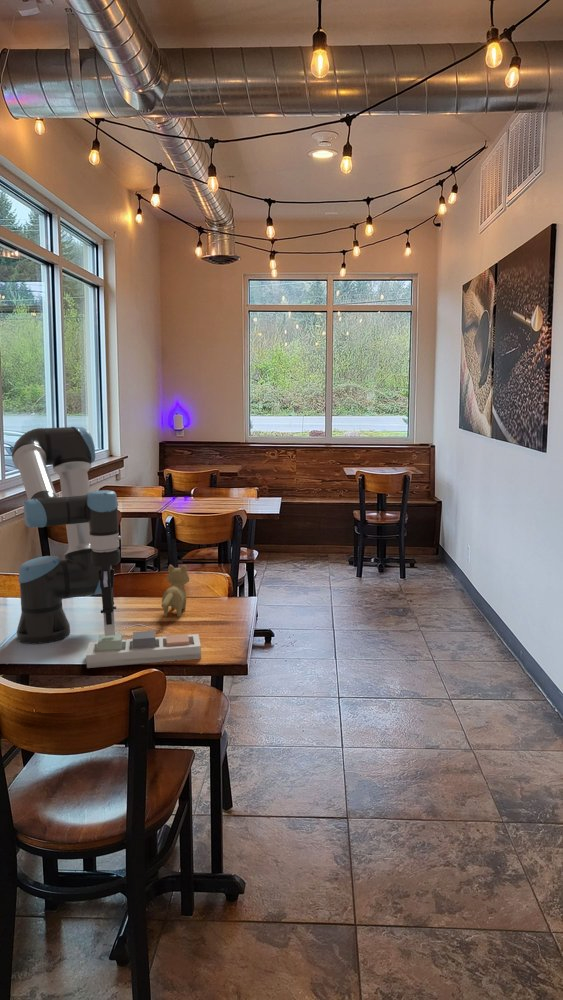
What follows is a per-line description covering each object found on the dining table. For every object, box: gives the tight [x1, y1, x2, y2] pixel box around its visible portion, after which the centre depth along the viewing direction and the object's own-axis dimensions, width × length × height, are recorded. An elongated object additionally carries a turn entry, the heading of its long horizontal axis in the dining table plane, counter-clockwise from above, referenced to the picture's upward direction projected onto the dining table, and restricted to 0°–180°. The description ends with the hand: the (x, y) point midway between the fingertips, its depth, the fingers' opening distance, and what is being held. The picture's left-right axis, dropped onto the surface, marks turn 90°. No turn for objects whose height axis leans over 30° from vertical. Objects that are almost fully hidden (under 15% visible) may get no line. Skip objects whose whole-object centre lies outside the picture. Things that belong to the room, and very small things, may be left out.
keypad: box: [85, 633, 202, 669], centre depth 191 cm, size 30×10×4 cm, turn 101°
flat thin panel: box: [115, 623, 169, 638], centre depth 211 cm, size 9×1×15 cm
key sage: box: [97, 632, 123, 651], centre depth 189 cm, size 6×6×2 cm
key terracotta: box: [165, 633, 189, 647], centre depth 192 cm, size 6×6×2 cm
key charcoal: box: [132, 629, 156, 648], centre depth 190 cm, size 6×6×2 cm
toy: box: [161, 564, 190, 618], centre depth 226 cm, size 7×24×15 cm, turn 174°
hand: (110, 634), depth 188 cm, fingers closed
